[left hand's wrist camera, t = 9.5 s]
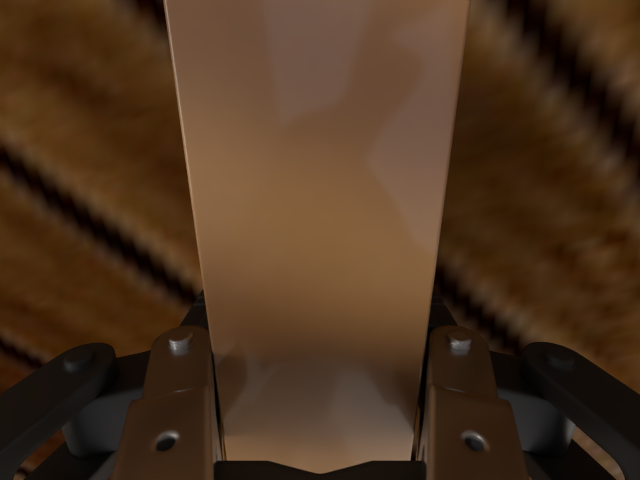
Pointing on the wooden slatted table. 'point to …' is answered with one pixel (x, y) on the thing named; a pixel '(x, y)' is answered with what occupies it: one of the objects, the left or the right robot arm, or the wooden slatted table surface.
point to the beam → (317, 212)
